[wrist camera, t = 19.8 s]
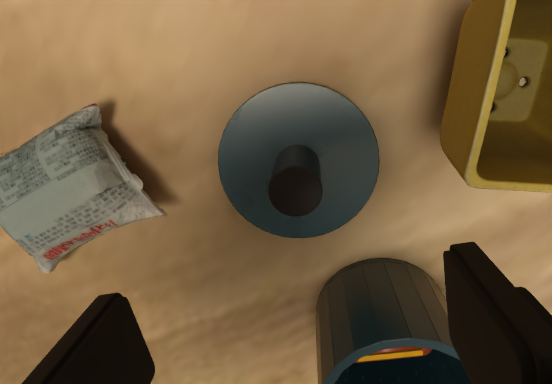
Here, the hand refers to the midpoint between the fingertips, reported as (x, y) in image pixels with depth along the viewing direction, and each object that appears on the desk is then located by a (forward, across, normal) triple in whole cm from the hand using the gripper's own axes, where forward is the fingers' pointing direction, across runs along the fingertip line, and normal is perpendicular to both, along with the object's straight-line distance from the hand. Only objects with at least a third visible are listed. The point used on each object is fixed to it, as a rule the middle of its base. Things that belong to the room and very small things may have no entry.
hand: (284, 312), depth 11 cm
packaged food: (+16, +16, -1) cm, 23 cm away
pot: (+16, -4, +14) cm, 21 cm away
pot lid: (+16, 0, 0) cm, 16 cm away
